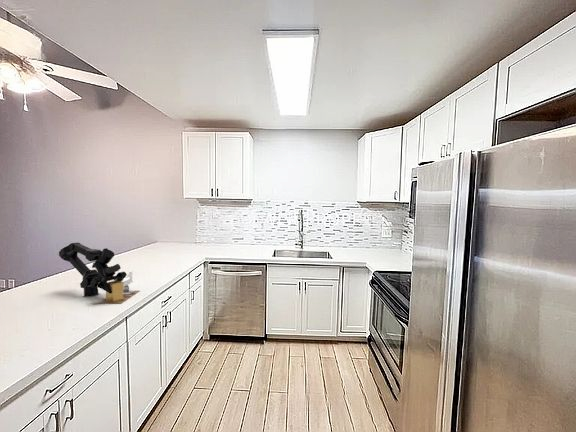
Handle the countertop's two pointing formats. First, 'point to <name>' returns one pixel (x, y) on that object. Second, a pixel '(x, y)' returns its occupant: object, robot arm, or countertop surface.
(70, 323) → the countertop surface
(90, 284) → the robot arm
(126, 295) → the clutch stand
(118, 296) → the gold square tube
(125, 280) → the bracket
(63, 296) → the countertop surface
